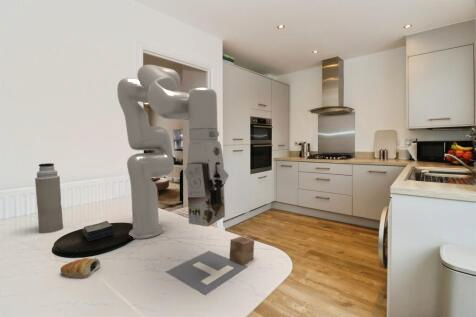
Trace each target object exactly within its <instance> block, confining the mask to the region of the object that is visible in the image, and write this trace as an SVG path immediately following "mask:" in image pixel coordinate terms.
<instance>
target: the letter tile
mask: <svg viewBox="0 0 476 317" xmlns="http://www.w3.org/2000/svg"><path fill="white" fill-rule="evenodd" d="M229 259H230V258H228V257H226V256H223V255H221V254H219V253H216V252H213V251H211V250H207V251H206V252H203V253H201V254H200V255H197V256H195V257H193V258H191V259H188V260H187V261H185V262H182V263H181V264H179V265H177V266H174V267H173V268H171V269H168V270H166V271H165V273H166V274H168V275H170V276H172V277H174V278H175V279H177V280H178V281H180V282H182V283H183V284H185V285H187V286H189V287H190V288H192V289H194V290H195V291H197V292H199V293H200V294H202V295H204V296H207V295H208V294H210V293H211V292H213V291H214V290H216V289H217V288H219V287H220V286H222V285H223V284H224V283H227V281H229V280H230V279H232V278H233V277H235V276H237V275H238V274H239V273H240V272H243V271H244V270H245V269H247V268H248V265H246V264H245V265H240V264H238V263H235V262H233V261H230V260H229Z"/></svg>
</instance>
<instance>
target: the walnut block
mask: <svg viewBox="0 0 476 317" xmlns="http://www.w3.org/2000/svg"><path fill="white" fill-rule="evenodd" d="M229 242H230V244H229V258H228V259H229V260H230V261H233V262H235V263H238V264H240V265H245V266H246V264H248V263H249V262H251V261H252V260H254V252H255V251H254V249H255V240H254V239H251V238H248V237H245V236H238V237H235V238H231V239H230V241H229Z"/></svg>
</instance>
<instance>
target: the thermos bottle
mask: <svg viewBox="0 0 476 317" xmlns="http://www.w3.org/2000/svg"><path fill="white" fill-rule="evenodd" d="M38 167H39V170H38V171H37V172H36V177H35V178H34V181H35V183H34V184H35V193H36V194H35V195H36V207H37V208H36V209H37V220H38V221H37V222H38V232H39V233H40V234H50V233H54V232H58V231H60V230H62V229H64V222H63V210H62V192H61V181H60V180H61V179H60V175H58V170H55V164H54V163H51V162H50V163H49V162H48V163H39V164H38Z"/></svg>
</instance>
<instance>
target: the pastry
mask: <svg viewBox="0 0 476 317" xmlns="http://www.w3.org/2000/svg"><path fill="white" fill-rule="evenodd" d="M100 261H101V260H99V258H97V257H95V258H90V257H84V258H81V259H80V258H79V259H77V260H76V259H75V260H74V261H70V262H69V263H66V264H64V265H63V266H61V267H60V273H61V274H62V275H63V276H66V277H68V278H74V279H75V278H76V279H87V278H88V277H90V276H92V275H93V274H94V273H95V272H96V271H97V270H98V269H99V268H100V266H101V262H100Z"/></svg>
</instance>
